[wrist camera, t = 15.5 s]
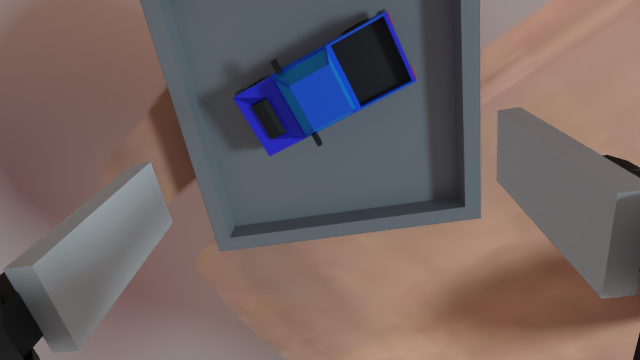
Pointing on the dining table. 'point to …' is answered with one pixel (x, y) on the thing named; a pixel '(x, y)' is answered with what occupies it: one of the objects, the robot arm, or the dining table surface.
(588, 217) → the robot arm
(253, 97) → the toy car
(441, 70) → the tray
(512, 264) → the dining table surface
